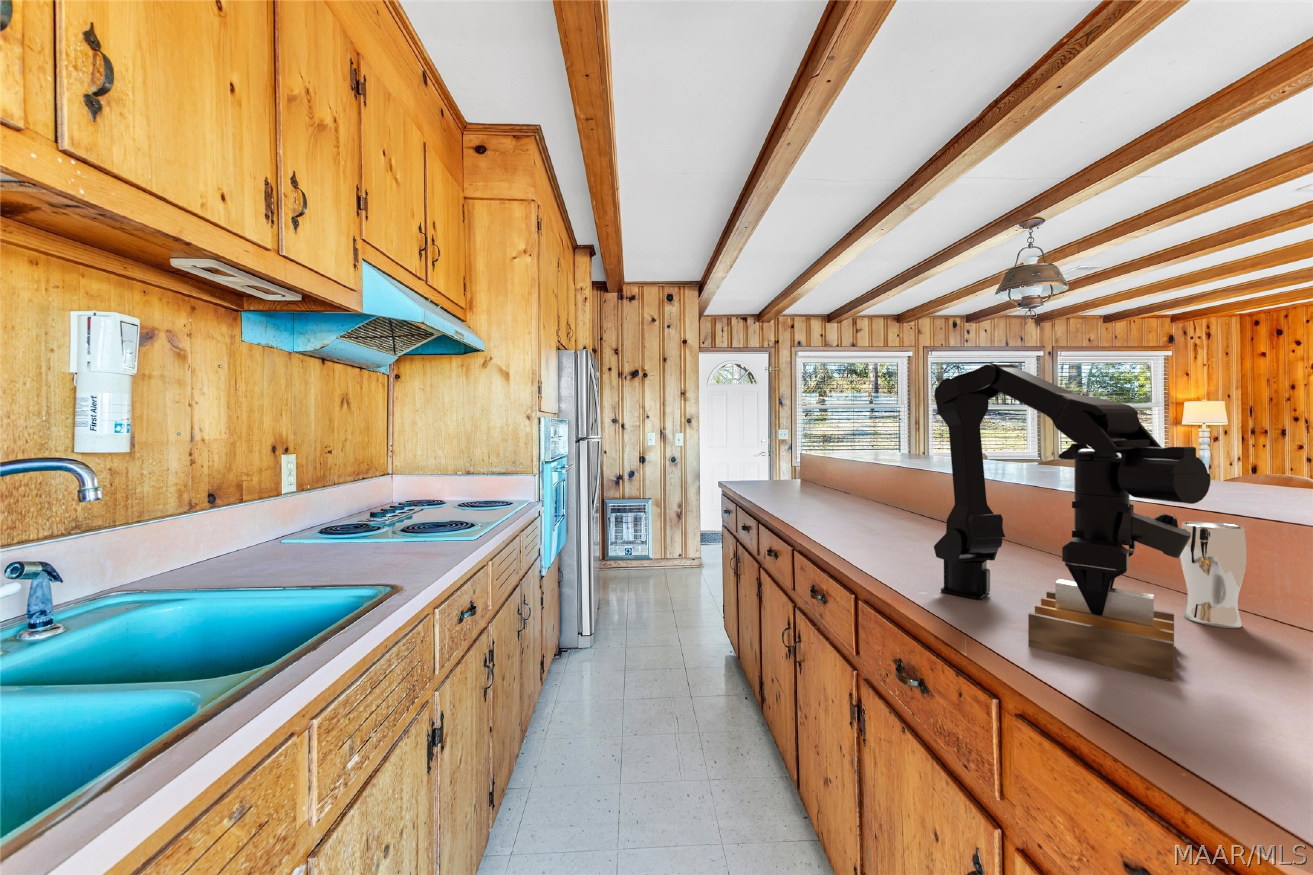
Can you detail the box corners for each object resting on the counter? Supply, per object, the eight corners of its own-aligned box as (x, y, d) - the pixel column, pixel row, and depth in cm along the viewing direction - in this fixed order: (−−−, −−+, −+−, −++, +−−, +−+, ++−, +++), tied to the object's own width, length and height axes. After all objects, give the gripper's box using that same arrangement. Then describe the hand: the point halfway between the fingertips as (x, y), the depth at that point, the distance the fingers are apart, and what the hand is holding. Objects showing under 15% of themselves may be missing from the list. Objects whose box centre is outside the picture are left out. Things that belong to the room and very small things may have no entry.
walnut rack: (1028, 646, 70) (1028, 613, 70) (1047, 618, 80) (1047, 590, 80) (1172, 681, 60) (1172, 643, 60) (1174, 645, 70) (1174, 612, 70)
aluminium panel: (1055, 631, 72) (1055, 582, 72) (1058, 626, 74) (1058, 579, 74) (1152, 652, 65) (1153, 599, 65) (1153, 647, 67) (1154, 594, 67)
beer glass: (1191, 624, 77) (1191, 526, 77) (1171, 610, 83) (1171, 519, 83) (1257, 632, 74) (1257, 530, 73) (1231, 617, 80) (1231, 522, 80)
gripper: (1186, 507, 57) (1185, 643, 57) (1185, 492, 70) (1184, 603, 70) (1061, 498, 65) (1061, 618, 66) (1081, 486, 78) (1081, 586, 78)
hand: (1100, 606), depth 70 cm, fingers open, 9 cm apart
